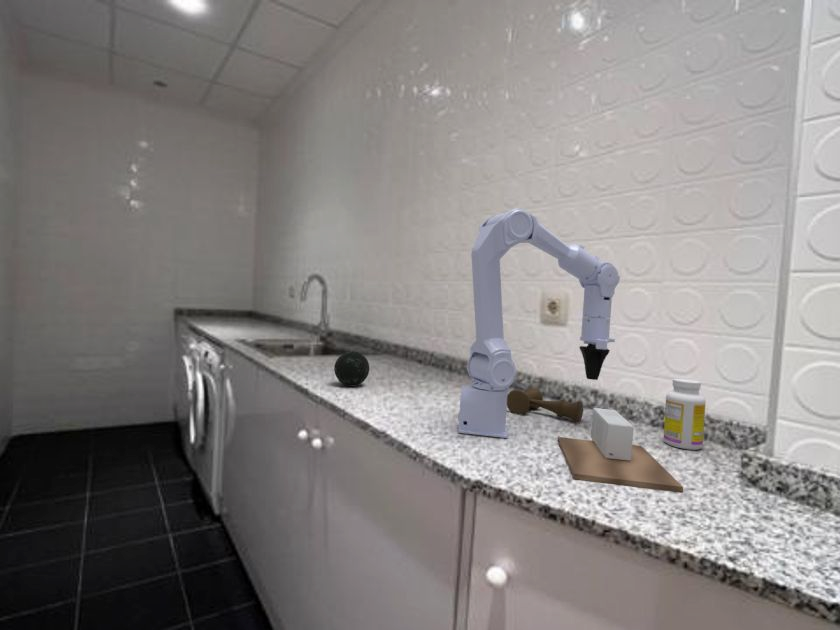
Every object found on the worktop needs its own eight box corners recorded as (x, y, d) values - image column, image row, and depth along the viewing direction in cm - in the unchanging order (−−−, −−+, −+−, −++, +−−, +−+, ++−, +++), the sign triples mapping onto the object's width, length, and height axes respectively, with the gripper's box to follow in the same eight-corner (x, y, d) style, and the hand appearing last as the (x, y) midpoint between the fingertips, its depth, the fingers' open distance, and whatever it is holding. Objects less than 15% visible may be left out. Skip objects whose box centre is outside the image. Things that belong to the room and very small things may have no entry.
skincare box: (613, 440, 84) (631, 462, 72) (590, 437, 85) (604, 459, 73) (616, 408, 84) (634, 426, 72) (592, 406, 85) (607, 423, 73)
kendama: (572, 429, 96) (491, 409, 108) (586, 422, 103) (509, 404, 115) (575, 402, 95) (494, 384, 108) (589, 397, 103) (511, 381, 115)
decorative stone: (327, 386, 123) (329, 351, 123) (342, 381, 133) (344, 348, 133) (360, 390, 121) (362, 354, 120) (373, 384, 130) (375, 351, 130)
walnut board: (573, 478, 66) (574, 473, 66) (557, 441, 84) (557, 436, 84) (682, 492, 63) (683, 486, 63) (640, 450, 82) (641, 445, 82)
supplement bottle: (699, 444, 88) (704, 380, 87) (705, 453, 82) (710, 385, 81) (661, 437, 91) (666, 376, 90) (664, 446, 85) (669, 380, 84)
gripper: (624, 319, 88) (620, 386, 89) (607, 318, 103) (603, 375, 103) (588, 317, 90) (583, 383, 90) (576, 316, 104) (572, 373, 104)
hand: (592, 379), depth 97 cm, fingers closed
